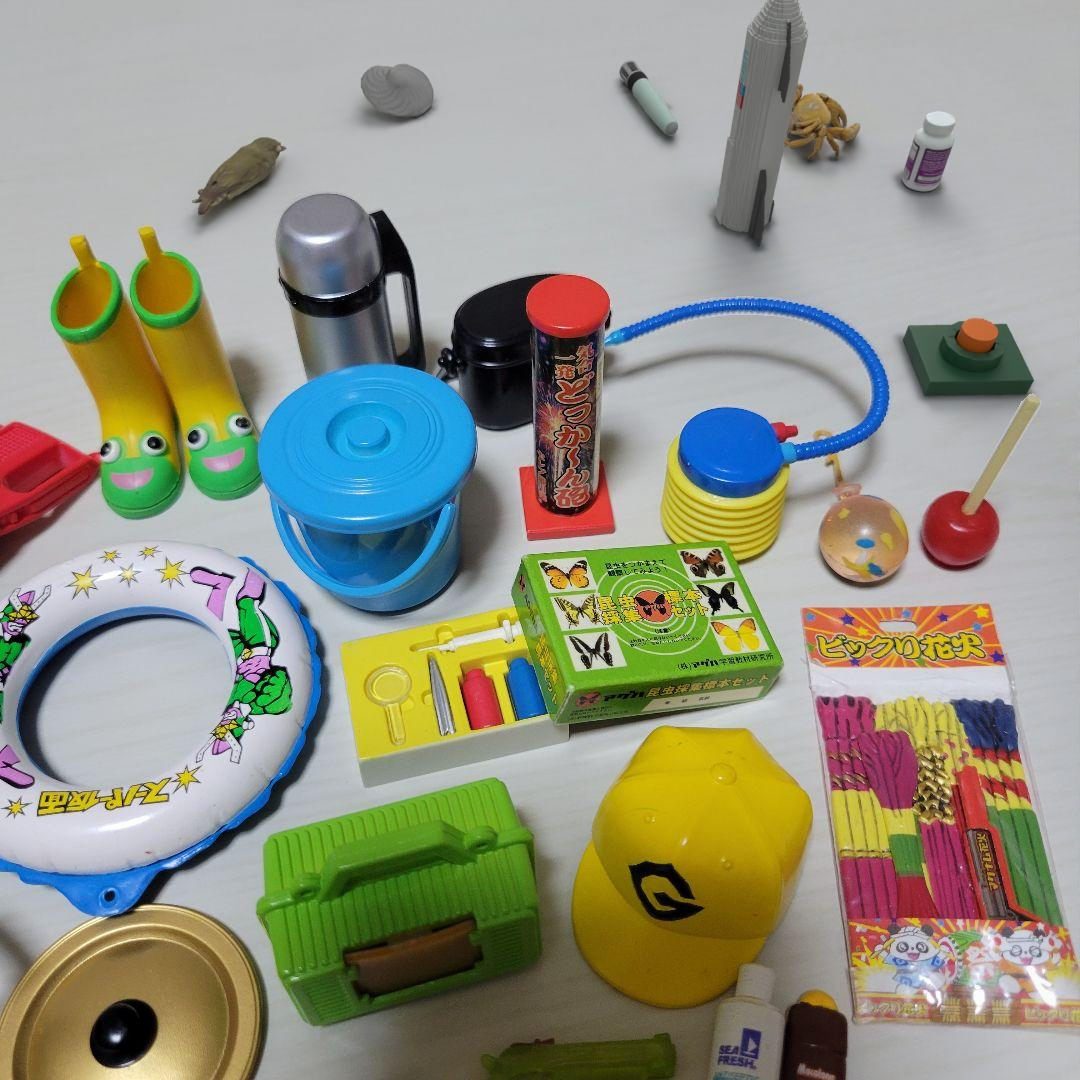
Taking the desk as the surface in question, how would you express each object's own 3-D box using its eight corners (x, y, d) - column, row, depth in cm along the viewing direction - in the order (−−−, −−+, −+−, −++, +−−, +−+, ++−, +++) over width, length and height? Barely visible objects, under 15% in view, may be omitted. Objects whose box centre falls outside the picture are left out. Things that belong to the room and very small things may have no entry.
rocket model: (783, 244, 128) (837, 11, 104) (733, 250, 127) (775, 17, 104) (750, 186, 137) (793, -41, 113) (702, 192, 136) (735, -36, 112)
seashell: (356, 96, 153) (366, 118, 146) (356, 59, 149) (365, 79, 142) (427, 97, 156) (440, 119, 149) (428, 61, 152) (441, 81, 146)
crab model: (874, 156, 142) (885, 121, 137) (796, 169, 139) (804, 134, 135) (827, 104, 151) (836, 70, 146) (753, 116, 148) (760, 81, 144)
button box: (999, 337, 116) (1012, 311, 113) (1026, 394, 110) (1041, 368, 107) (902, 339, 116) (912, 313, 113) (924, 396, 110) (935, 370, 107)
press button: (985, 331, 112) (992, 317, 110) (996, 354, 109) (1003, 340, 108) (952, 331, 112) (958, 318, 110) (961, 354, 109) (968, 341, 108)
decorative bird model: (300, 160, 142) (293, 128, 138) (211, 229, 131) (201, 197, 127) (273, 151, 143) (266, 119, 139) (183, 219, 133) (172, 187, 129)
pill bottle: (945, 181, 137) (968, 117, 130) (927, 197, 135) (950, 132, 127) (911, 167, 139) (932, 104, 132) (893, 183, 137) (914, 119, 129)
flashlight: (692, 126, 144) (645, 65, 155) (670, 117, 141) (624, 55, 153) (680, 146, 146) (635, 83, 157) (658, 137, 143) (614, 74, 155)
